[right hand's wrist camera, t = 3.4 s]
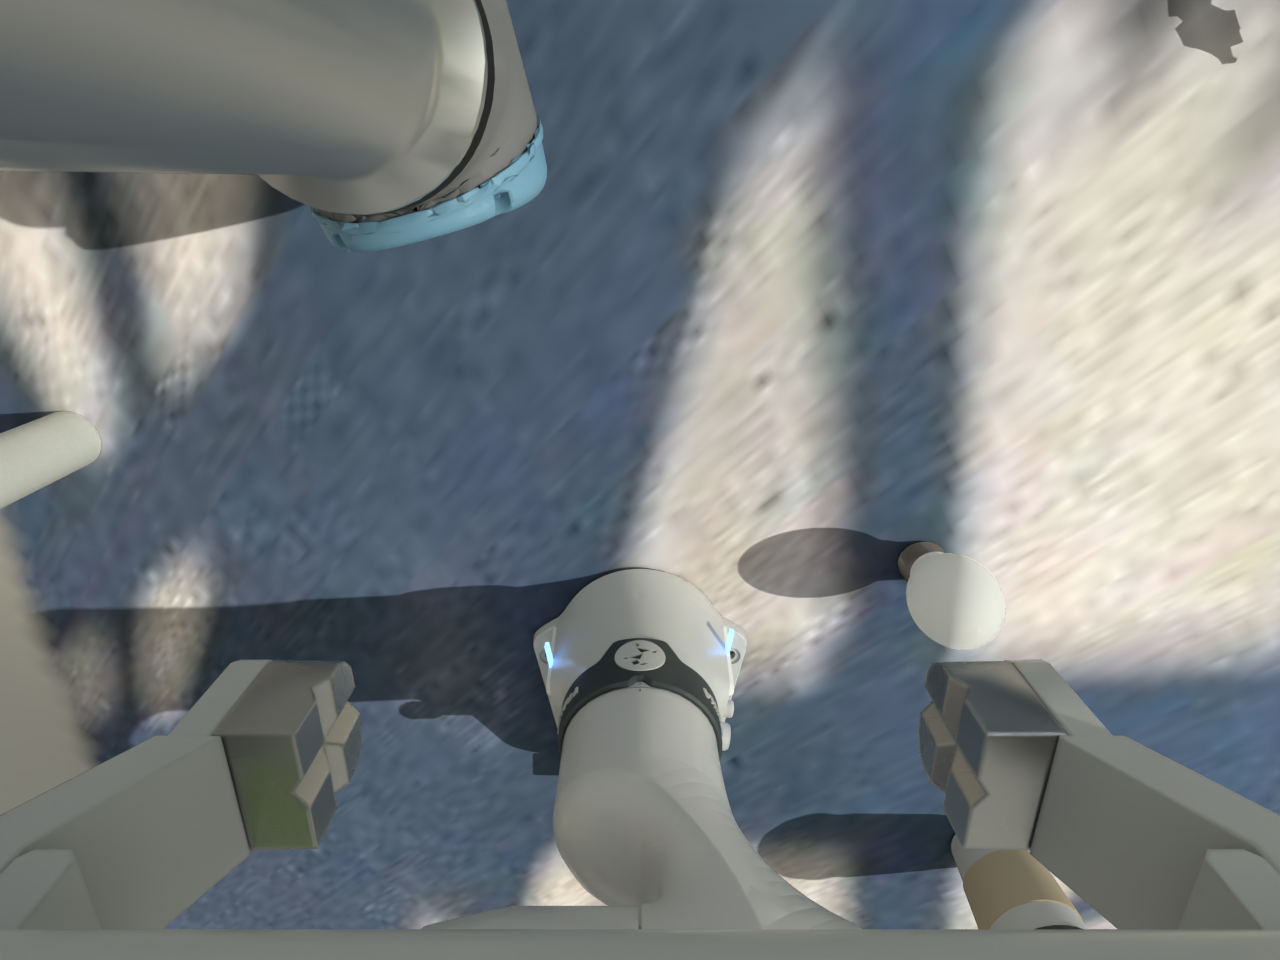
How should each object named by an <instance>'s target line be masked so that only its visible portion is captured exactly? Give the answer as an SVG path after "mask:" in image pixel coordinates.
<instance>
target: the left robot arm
mask: <svg viewBox="0 0 1280 960" xmlns="http://www.w3.org/2000/svg"><path fill="white" fill-rule="evenodd" d="M542 139H543V127H542V124H541V121H540V118H539V117H538V116H537V114H536V113H535V109H534V105H533V101H532V97H531V94H530V90H529V86H528V82H527V78H526V75H525V71H524V67H523V63H522V59H521V56H520V52H519V48H518V44H517V40H516V37H515V33H514V29H513V25H512V21H511V18H510V14H509V10H508V6H507V2H506V0H0V171H51V172H121V173H191V174H257V175H258V176H259V177H260V178H262V179H263V180H264V181H266V182H267V183H268V184H269V185H271V186H272V187H273V188H275V189H276V190H278V191H280V192H281V193H283V194H285V195H287V196H288V197H290V198H292V199H294V200H296V201H298V202H301V203H303V204H305V205H308V206H310V208H311V212H312V213H313V216H314V219H315V220H316V221H317V222H318V223H319V224H320V225H321V227H322V229H323V231H324V233H325V235H326V237H327V238H328V240H329V241H330V242H331V244H333V245H334V246H335V247H336V248H338V249H340V250H343V251H347V252H352V251H354V252H371V251H378V250H384V249H389V248H394V247H399V246H403V245H408V244H412V243H416V242H420V241H424V240H427V239H431V238H434V237H438V236H442V235H445V234H449V233H452V232H455V231H458V230H461V229H465V228H468V227H471V226H474V225H477V224H480V223H482V222H484V221H486V220H488V219H490V218H492V217H494V216H496V215H499V214H501V213H507V212H510V211H512V210H515V209H517V208H519V207H521V206H523V205H525V204H526V203H528V202H529V201H531V200H532V199H533V198H535V197H536V196H537V195H538V194H539V193H540V192H541V190H542V189H543V187H544V185H545V182H546V178H547V165H546V160H545V155H544V150H543V145H542Z"/></svg>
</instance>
